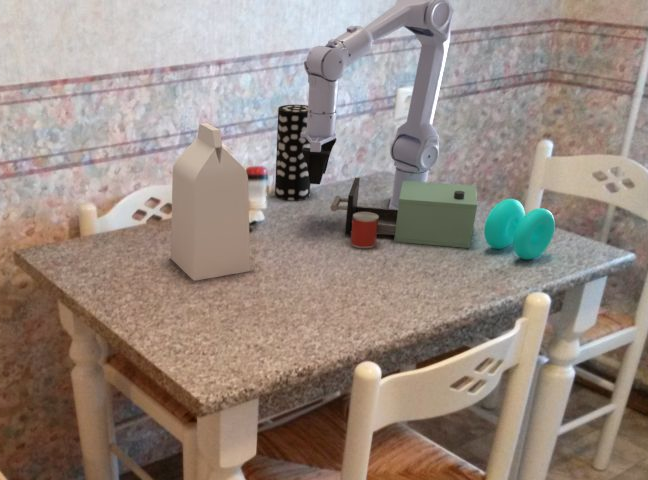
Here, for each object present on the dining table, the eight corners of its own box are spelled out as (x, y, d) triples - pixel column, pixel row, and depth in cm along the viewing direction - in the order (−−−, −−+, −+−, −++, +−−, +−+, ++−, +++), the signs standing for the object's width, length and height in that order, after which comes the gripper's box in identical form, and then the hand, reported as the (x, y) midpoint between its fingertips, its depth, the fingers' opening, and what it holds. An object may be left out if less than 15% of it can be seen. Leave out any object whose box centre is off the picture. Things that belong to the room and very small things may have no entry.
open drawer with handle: (334, 213, 181) (337, 176, 176) (420, 220, 176) (425, 182, 172) (327, 233, 170) (330, 194, 165) (417, 241, 166) (423, 201, 161)
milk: (170, 258, 159) (166, 122, 146) (224, 249, 163) (225, 116, 150) (193, 280, 150) (192, 137, 137) (250, 271, 154) (253, 130, 140)
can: (351, 238, 168) (354, 210, 165) (376, 241, 167) (379, 212, 164) (349, 247, 164) (351, 218, 161) (374, 249, 163) (377, 220, 160)
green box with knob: (397, 221, 178) (403, 174, 173) (469, 227, 174) (477, 180, 169) (394, 241, 167) (399, 193, 162) (469, 248, 164) (478, 198, 158)
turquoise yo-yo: (510, 240, 167) (519, 193, 162) (551, 255, 160) (562, 206, 155) (477, 250, 163) (485, 201, 157) (518, 266, 155) (528, 215, 150)
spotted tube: (273, 199, 191) (276, 111, 181) (276, 189, 198) (279, 104, 188) (308, 201, 190) (314, 113, 179) (310, 190, 197) (316, 105, 187)
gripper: (307, 102, 170) (303, 167, 177) (296, 117, 158) (293, 186, 165) (341, 104, 168) (336, 169, 175) (333, 119, 156) (327, 189, 163)
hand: (317, 178), depth 170 cm, fingers open, 7 cm apart
